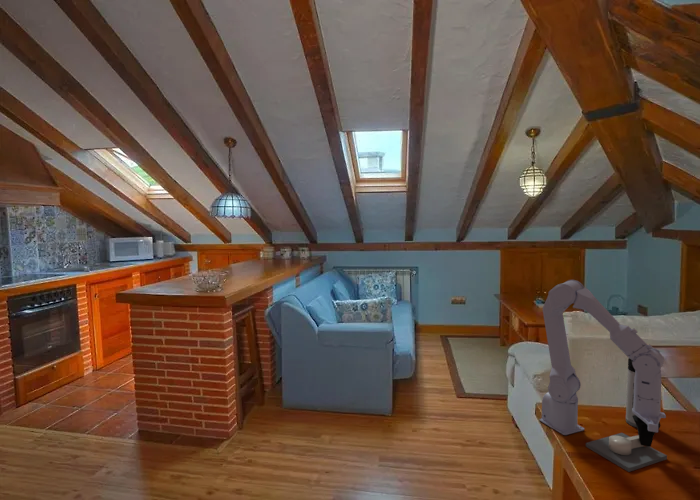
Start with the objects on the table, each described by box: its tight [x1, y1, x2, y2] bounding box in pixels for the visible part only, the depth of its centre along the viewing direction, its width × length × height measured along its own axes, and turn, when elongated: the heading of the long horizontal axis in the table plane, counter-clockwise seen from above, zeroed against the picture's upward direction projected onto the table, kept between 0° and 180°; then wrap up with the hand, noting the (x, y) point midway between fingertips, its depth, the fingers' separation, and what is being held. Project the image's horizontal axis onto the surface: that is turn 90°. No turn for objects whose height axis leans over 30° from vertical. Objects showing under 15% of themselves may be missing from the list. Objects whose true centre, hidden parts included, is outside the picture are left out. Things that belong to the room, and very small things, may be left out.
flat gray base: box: [585, 432, 668, 473], centre depth 108 cm, size 12×14×1 cm
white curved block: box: [609, 434, 645, 455], centre depth 108 cm, size 12×5×2 cm, turn 105°
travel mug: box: [625, 358, 637, 429], centre depth 122 cm, size 6×7×20 cm
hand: (645, 444), depth 107 cm, fingers closed, pressing on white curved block
